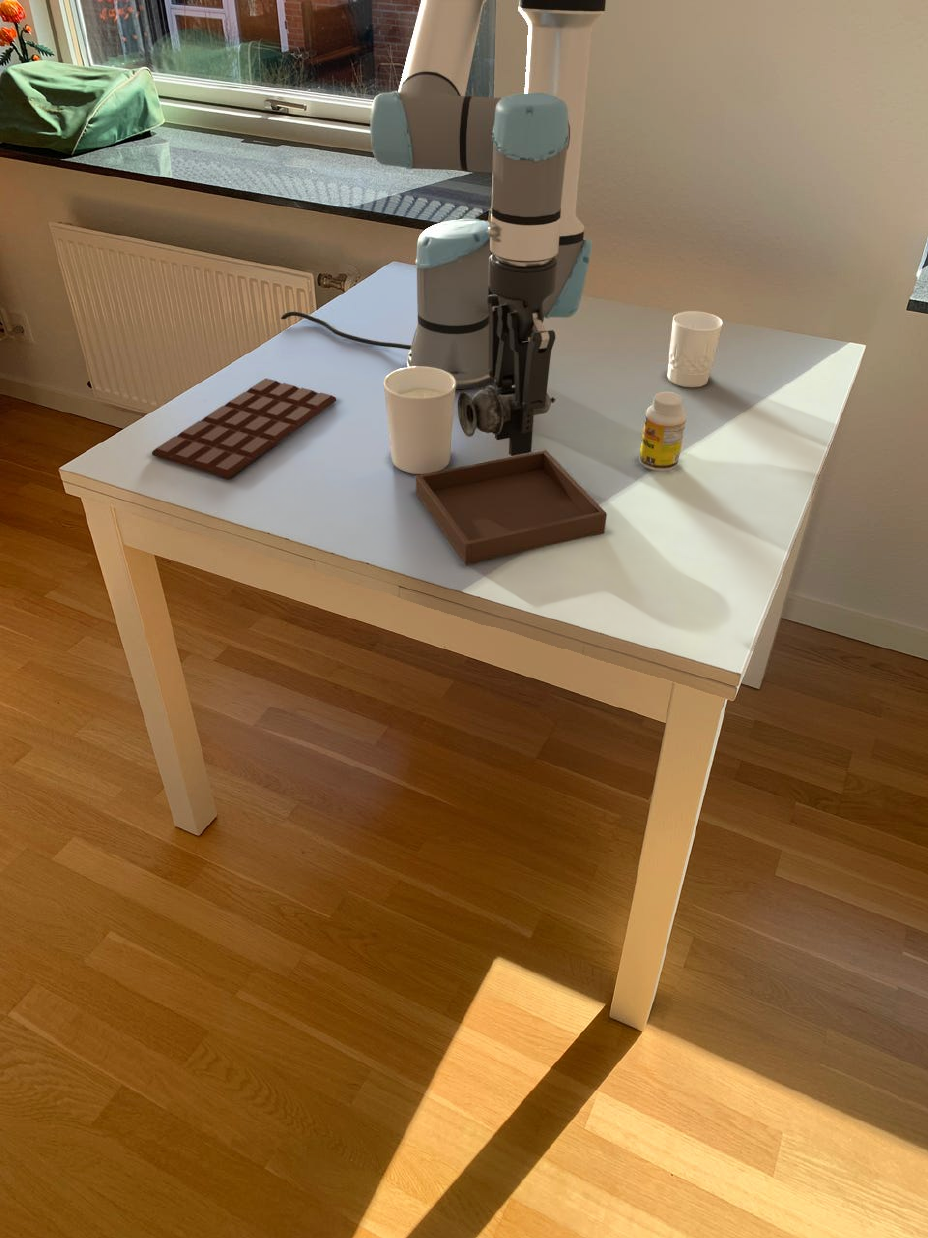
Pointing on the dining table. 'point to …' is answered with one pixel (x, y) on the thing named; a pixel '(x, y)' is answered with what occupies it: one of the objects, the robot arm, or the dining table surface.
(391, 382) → the candle holder
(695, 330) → the white cup
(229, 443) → the chocolate bar
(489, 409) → the salt shaker
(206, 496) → the dining table surface
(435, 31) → the robot arm
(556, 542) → the tray
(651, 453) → the supplement bottle
